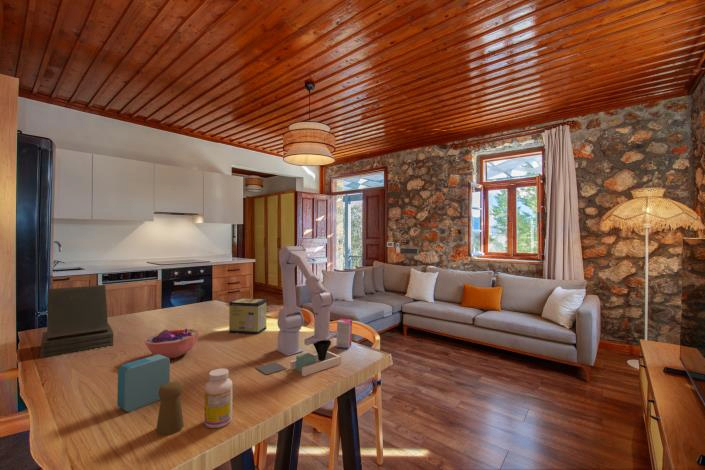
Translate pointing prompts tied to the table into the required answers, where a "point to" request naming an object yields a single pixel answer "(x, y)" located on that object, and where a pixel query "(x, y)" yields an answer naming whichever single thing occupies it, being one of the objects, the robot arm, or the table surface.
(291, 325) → the robot arm
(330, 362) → the frame
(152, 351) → the cell model
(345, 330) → the supplement box
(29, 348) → the table surface
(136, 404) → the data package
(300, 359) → the block
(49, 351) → the dark stepped-base plaque
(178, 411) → the brown pepper mill
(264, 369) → the mat
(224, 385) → the supplement bottle
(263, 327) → the protein box
